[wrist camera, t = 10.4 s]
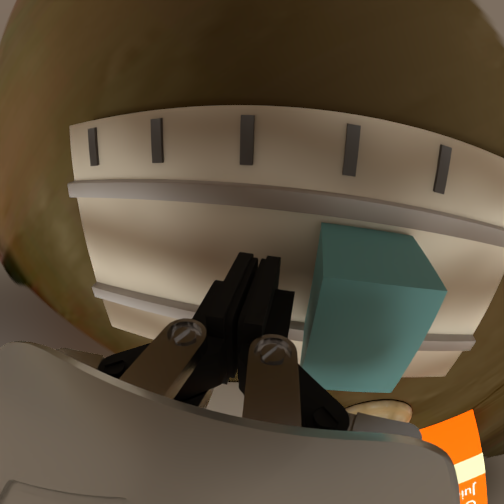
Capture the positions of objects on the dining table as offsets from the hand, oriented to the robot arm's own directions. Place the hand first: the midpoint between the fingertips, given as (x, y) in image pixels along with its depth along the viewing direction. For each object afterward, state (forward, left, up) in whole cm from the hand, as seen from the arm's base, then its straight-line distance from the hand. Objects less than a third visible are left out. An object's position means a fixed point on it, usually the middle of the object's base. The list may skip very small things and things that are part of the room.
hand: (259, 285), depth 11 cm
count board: (0, +1, -4) cm, 4 cm away
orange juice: (+22, +23, -4) cm, 32 cm away
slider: (0, +4, -1) cm, 4 cm away
